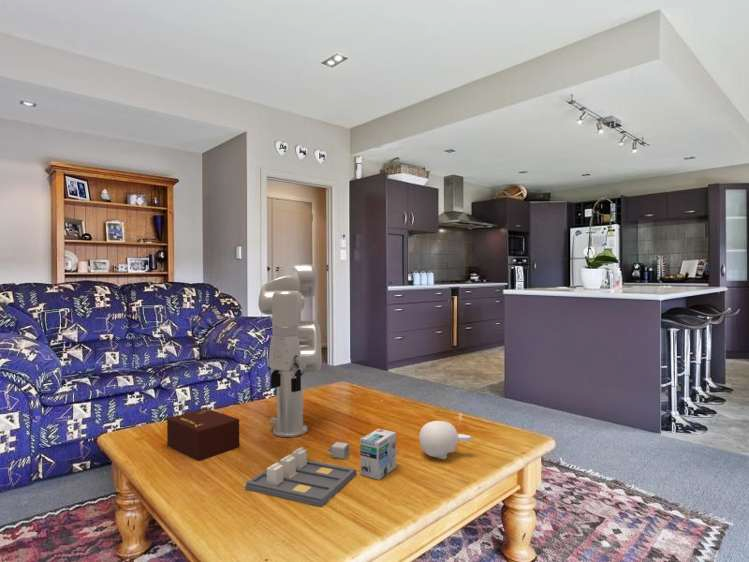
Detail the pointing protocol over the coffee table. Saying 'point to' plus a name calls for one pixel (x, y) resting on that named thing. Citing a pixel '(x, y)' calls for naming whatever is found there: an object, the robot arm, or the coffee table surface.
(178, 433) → the box
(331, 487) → the switch bank
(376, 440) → the light bulb box
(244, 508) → the coffee table surface
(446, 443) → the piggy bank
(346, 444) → the usb wall charger
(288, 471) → the tab
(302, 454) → the tab
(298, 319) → the robot arm
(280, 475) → the tab
